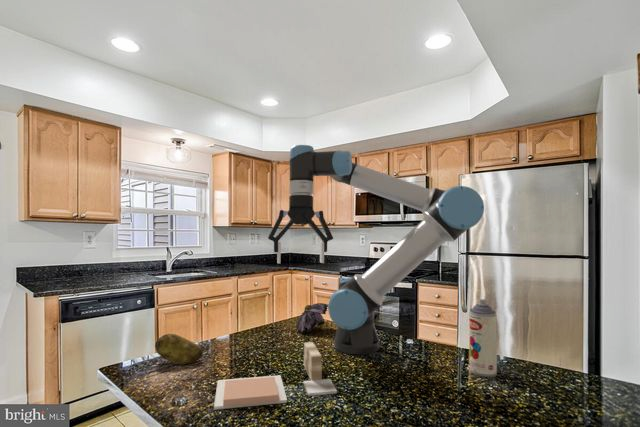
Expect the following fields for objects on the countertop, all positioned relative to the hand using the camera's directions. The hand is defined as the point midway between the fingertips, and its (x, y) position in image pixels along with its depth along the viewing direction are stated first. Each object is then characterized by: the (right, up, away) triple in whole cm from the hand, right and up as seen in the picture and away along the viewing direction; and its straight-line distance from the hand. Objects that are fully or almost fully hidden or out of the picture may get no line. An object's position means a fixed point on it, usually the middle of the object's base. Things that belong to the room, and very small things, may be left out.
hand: (300, 263), depth 112 cm
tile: (-11, -26, -23) cm, 37 cm away
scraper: (+5, -28, -17) cm, 33 cm away
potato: (-36, -28, -7) cm, 46 cm away
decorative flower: (+4, -30, +27) cm, 41 cm away
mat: (-11, -28, -25) cm, 39 cm away
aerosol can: (+51, -29, -12) cm, 60 cm away
